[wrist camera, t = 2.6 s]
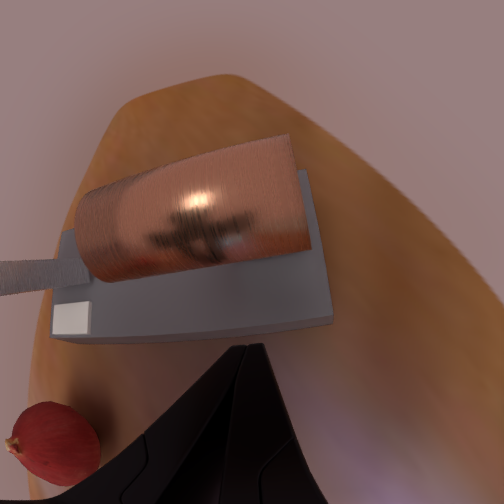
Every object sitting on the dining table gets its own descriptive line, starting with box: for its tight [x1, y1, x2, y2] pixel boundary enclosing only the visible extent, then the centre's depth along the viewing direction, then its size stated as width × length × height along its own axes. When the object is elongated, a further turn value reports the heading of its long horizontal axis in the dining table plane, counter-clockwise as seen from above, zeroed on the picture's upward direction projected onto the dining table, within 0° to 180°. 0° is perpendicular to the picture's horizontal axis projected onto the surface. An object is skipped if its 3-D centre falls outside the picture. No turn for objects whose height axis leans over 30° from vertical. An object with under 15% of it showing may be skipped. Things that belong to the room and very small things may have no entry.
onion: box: [5, 401, 101, 486], centre depth 12 cm, size 6×6×8 cm
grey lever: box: [0, 258, 90, 296], centre depth 12 cm, size 2×4×10 cm, turn 95°
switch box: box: [50, 169, 333, 344], centre depth 17 cm, size 8×18×3 cm, turn 95°
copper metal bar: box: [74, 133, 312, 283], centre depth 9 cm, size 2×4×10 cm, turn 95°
